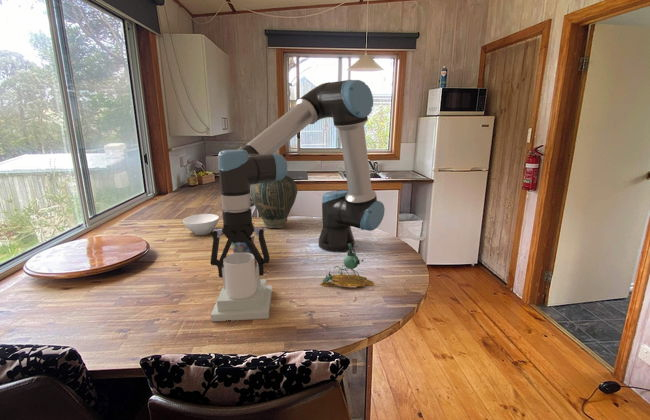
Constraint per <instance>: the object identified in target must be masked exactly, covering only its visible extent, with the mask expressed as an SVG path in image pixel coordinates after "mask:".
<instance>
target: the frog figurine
mask: <svg viewBox="0 0 650 420" xmlns="http://www.w3.org/2000/svg"><path fill="white" fill-rule="evenodd" d="M348 246H349V250H348V252H347V253H346V255H345V256H344V258H343V264H344V265H343V264H342V265H341V267H340V266H338V265H336V266H335V267H333V269H334V270H335V269H336V268H339V269H338V271H337V272H338V273H339V272H340V273H339V274H332V273H331V272H330V271H328V275H326V276H325V277H324V279H322V282H321V283H320V284H319V285H320V286H322V287H333V286H338V287H345V288H350V289H353V288H354V289H355V288H358V287H359V288H361V287H363V288H364V287H366V286H371V287H372V286H375V282H374V281H372V280H370V279H367V277H366V276H361V275H360V274H359V272H358V271H356V270H354V269H356V268H357V267H358V265H360V264H361V263H360V262H364V259H361V260H360V259H359V257H358V256H357V253H356V252H355V251H356V249H354V250H353V248H352V245H351V244H350V243H349V244H348ZM343 267H345V268H343ZM348 270H351V271H352V272H353V273H354V274H349V271H348ZM343 271H346V273H347V274H346V273H343ZM356 273H357V274H356ZM331 281H332V282H331Z"/></svg>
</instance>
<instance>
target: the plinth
mask: <svg viewBox="0 0 650 420" xmlns="http://www.w3.org/2000/svg"><path fill="white" fill-rule="evenodd" d="M256 284H257V278H256ZM272 297H273V285H267V278H261V285H260V288H257V289H256V292H255V293H254V294H253V295H252V296H250V297H248V298H245V299H233V298H230V297H229V296H228V295H227V293H226V289H224V287H223V286H222V287H221V291H220V293H219V295H218V297H217V300H216V302H215V304H214V307H213V309H212V310H211V313H210V319H211V320H210V321H212V322H224V321H225V322H228V320H231V321H246V320H249V321H250V320H263V319H270V310H271V303H272ZM226 320H227V321H226Z"/></svg>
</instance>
